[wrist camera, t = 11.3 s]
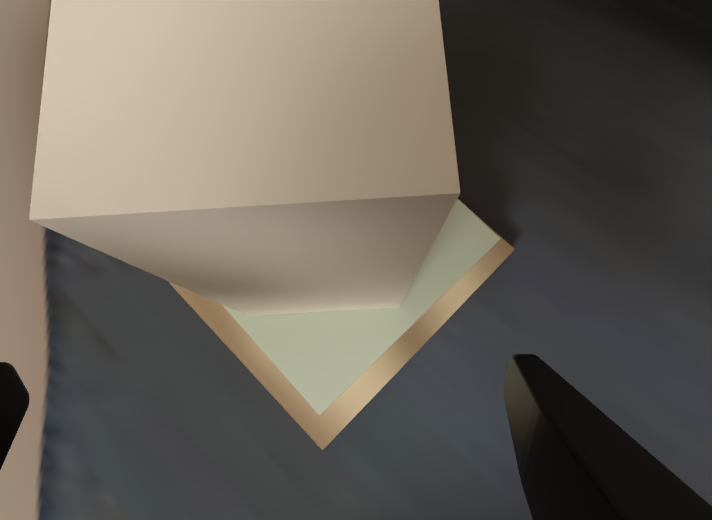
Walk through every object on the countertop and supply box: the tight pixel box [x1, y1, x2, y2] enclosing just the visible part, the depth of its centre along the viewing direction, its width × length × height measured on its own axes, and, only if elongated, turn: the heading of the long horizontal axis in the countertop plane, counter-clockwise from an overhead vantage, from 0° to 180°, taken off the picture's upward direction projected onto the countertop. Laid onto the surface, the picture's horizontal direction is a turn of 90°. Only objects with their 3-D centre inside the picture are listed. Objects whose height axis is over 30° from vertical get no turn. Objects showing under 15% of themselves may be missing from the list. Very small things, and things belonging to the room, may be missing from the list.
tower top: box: [223, 199, 500, 415], centre depth 20 cm, size 10×10×2 cm
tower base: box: [168, 205, 515, 450], centre depth 22 cm, size 12×12×2 cm
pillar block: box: [29, 0, 460, 316], centre depth 13 cm, size 6×6×12 cm
